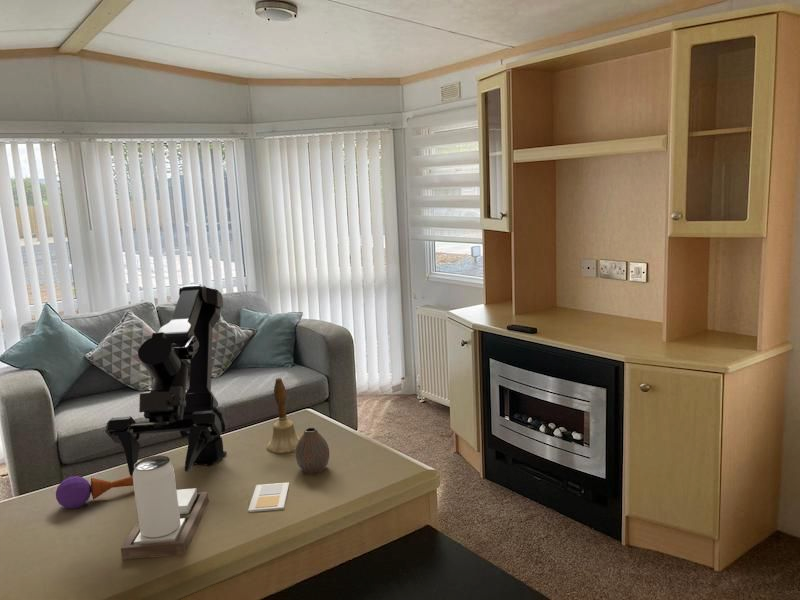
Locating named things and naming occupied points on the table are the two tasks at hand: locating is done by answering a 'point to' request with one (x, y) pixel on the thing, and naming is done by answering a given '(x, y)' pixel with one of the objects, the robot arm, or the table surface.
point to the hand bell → (282, 425)
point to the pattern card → (269, 497)
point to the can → (156, 496)
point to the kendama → (85, 490)
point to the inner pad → (186, 499)
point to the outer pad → (168, 538)
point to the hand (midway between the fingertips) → (159, 473)
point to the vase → (312, 452)
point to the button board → (167, 547)
